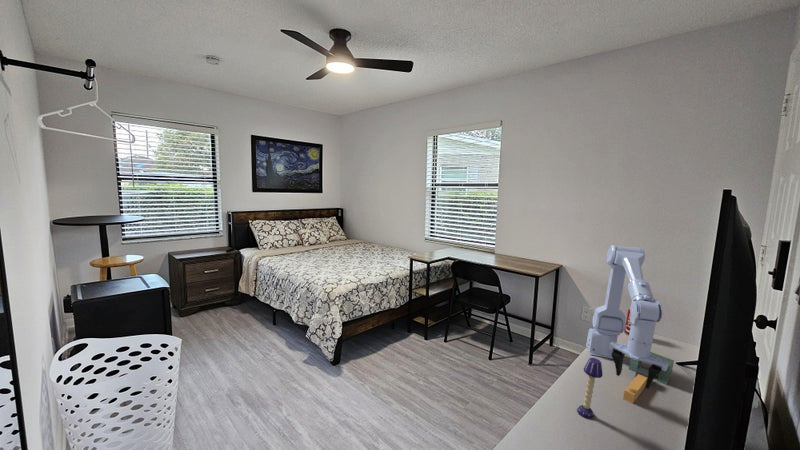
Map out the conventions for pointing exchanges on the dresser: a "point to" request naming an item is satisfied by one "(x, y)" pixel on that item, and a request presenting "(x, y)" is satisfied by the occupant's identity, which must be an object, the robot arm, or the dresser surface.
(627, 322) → the soda can
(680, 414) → the dresser surface
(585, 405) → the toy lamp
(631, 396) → the plug
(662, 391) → the dresser surface
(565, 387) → the dresser surface
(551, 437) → the dresser surface
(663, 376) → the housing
